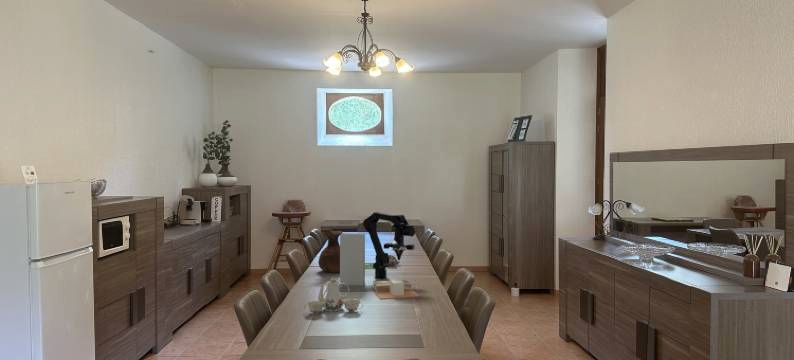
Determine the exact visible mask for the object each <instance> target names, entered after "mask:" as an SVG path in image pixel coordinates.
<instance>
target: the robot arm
mask: <svg viewBox="0 0 794 360" xmlns="http://www.w3.org/2000/svg"><path fill="white" fill-rule="evenodd" d="M380 220H382V221H388V222H391V223H392V225H391V228H393V229H394V238H393V241H392V242H386V243H384V244H383V246H382V243H381V241H380V237H379V235H378V231H377V229H378V224H377V223H379V221H380ZM362 225H363V228H364V230H365V231H366V232H367V233H368V234H369V237H370V240H371V242H372V246H373V249H374V251H375V262H373V263H374V264H373V268H374V269H373V270H374V279H386V278H388V277H387V276H388V274H387V272H388V271H387V270H388V269H386V267H388V264H389V262H390V260H389V259H390V258H389V256H388V255H389V253H388V252H385V251H384V250H383V249H385V250H386V249H387V250H389V249H390V248H392V251H394V253H395V254H396V259H397V261H400V260H401V258H402V255H403V254H404V251H406V250H408V251H414V250H415V248H416V246H415V244H414V243H408V244H405V237H414V236H415V234H416V229H415V228H414V226H413V224H411V225H410V223H409V222H408V221H407V219H406V217H405V215H404V214H390V213H386V212H385V213H384V212H380V211H376V212H375V211H374V212H373V213H372V214H371V215H370V216H368V217H366V218H364V219H363V222H362Z"/></svg>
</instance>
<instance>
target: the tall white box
mask: <svg viewBox="0 0 794 360" xmlns="http://www.w3.org/2000/svg"><path fill="white" fill-rule="evenodd" d="M339 245H340V272H339V282H340V283H345V284H347V285H348V286H351V285H352V286H364V284H365V283H366V269H365V263H366V233H342V234H341V235H340V236H339ZM340 283H339V284H340ZM345 284H341V285H342V286H343V285H345ZM347 285H346V286H347Z"/></svg>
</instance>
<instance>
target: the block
mask: <svg viewBox="0 0 794 360" xmlns="http://www.w3.org/2000/svg"><path fill="white" fill-rule="evenodd" d="M402 280H403V279H400V278H399V279H389V281H390V293H391V294H392V295H393V296H400V295H404V282H403V281H402Z"/></svg>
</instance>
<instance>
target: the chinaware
mask: <svg viewBox="0 0 794 360" xmlns="http://www.w3.org/2000/svg"><path fill="white" fill-rule="evenodd" d="M318 284H319V285H320V289H319V291H318V292H319V293H318V296H317V299H318V300H312V301H307V302H306V304H305V305H304V309H305V310H306V311H309V313H311V315H319V314H320V312H321V311H322V309H323V308H324V310H325V311H326V312H338V311H341V310H342V307H343V306H344V308H345V309H346V310H347V311H348V313H350V314H353V313H356V311H358V310H359V309H362V308H363V307H364V304H363V303H362V302H361V299H359V300H358V299H356V298H351V299H347V295H348V294H349V293H350V291H351V290H350V285H347V284H345V283H340V280H339V281H338V280H337V279H336V278H335V277H334V276H332V277H331V279H329V280H328V281H326V286H327V292H326V295H325V297H324V289H325V286H324V284H323V283H322V282H319V283H318ZM342 284H345V285H346V287H347V290H348V291H347V292H346V293H345V294H343V295H341V293H340V290H339V287H340V288H343V285H342ZM360 304H361V307H359V306H360ZM306 306H307V307H308V309H307V308H306Z"/></svg>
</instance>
